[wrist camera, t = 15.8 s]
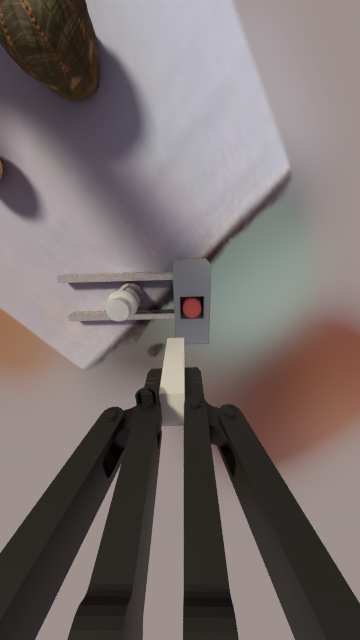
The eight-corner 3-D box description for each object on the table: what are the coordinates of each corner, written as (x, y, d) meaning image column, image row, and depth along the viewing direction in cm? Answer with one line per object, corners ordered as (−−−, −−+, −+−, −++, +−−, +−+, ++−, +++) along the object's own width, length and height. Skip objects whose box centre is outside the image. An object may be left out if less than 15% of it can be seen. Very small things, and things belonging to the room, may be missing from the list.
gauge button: (183, 307, 38) (183, 318, 33) (183, 291, 37) (182, 301, 32) (199, 306, 38) (201, 317, 33) (199, 291, 36) (201, 300, 31)
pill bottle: (124, 308, 43) (107, 327, 34) (115, 284, 41) (96, 298, 32) (147, 303, 42) (137, 322, 33) (140, 279, 40) (127, 292, 31)
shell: (66, -30, 25) (-29, -244, 14) (122, 72, 28) (82, -32, 17) (12, 41, 27) (-106, -90, 16) (69, 127, 31) (5, 67, 20)
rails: (75, 316, 44) (69, 321, 42) (64, 274, 40) (56, 276, 38) (177, 314, 43) (176, 318, 41) (175, 271, 39) (174, 273, 37)
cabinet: (177, 323, 44) (175, 344, 36) (174, 259, 38) (172, 265, 30) (204, 323, 44) (208, 343, 35) (205, 258, 38) (211, 264, 30)
